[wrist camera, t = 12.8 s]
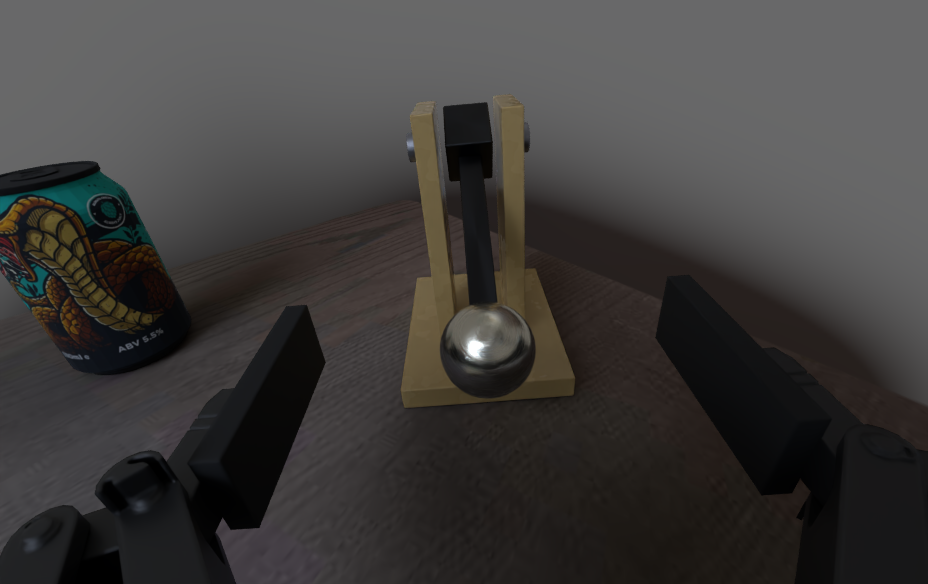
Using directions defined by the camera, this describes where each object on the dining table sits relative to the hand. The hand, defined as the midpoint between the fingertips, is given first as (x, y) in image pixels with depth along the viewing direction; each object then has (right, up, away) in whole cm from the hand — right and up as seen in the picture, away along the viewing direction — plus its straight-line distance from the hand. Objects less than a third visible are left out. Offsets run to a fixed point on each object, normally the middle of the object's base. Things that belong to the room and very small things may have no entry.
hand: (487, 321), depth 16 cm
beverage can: (-23, -3, +14) cm, 27 cm away
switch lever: (0, +3, +4) cm, 5 cm away
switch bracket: (0, -2, +12) cm, 12 cm away
